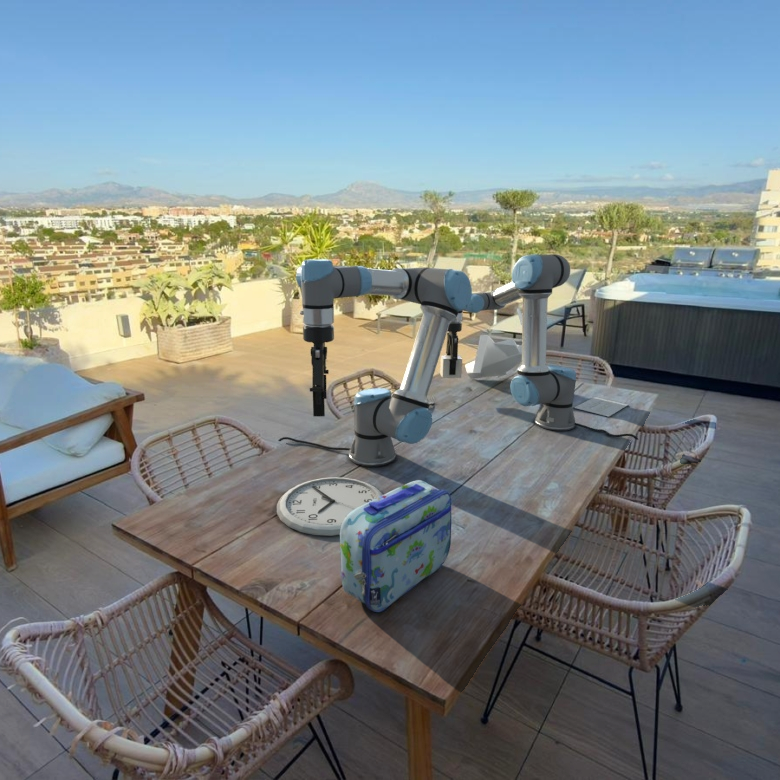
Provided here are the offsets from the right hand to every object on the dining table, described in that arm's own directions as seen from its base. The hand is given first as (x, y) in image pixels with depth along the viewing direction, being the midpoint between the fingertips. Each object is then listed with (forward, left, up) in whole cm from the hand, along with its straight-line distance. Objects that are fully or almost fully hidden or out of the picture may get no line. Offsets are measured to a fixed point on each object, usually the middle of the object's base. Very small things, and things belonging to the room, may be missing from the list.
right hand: (450, 372), depth 237 cm
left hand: (+33, +106, +18) cm, 113 cm away
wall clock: (+31, +106, -10) cm, 111 cm away
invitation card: (-65, +7, -10) cm, 67 cm away
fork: (+9, +19, -10) cm, 23 cm away
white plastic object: (-26, -18, -10) cm, 34 cm away
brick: (0, 0, -2) cm, 2 cm away
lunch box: (+10, +136, -10) cm, 136 cm away
